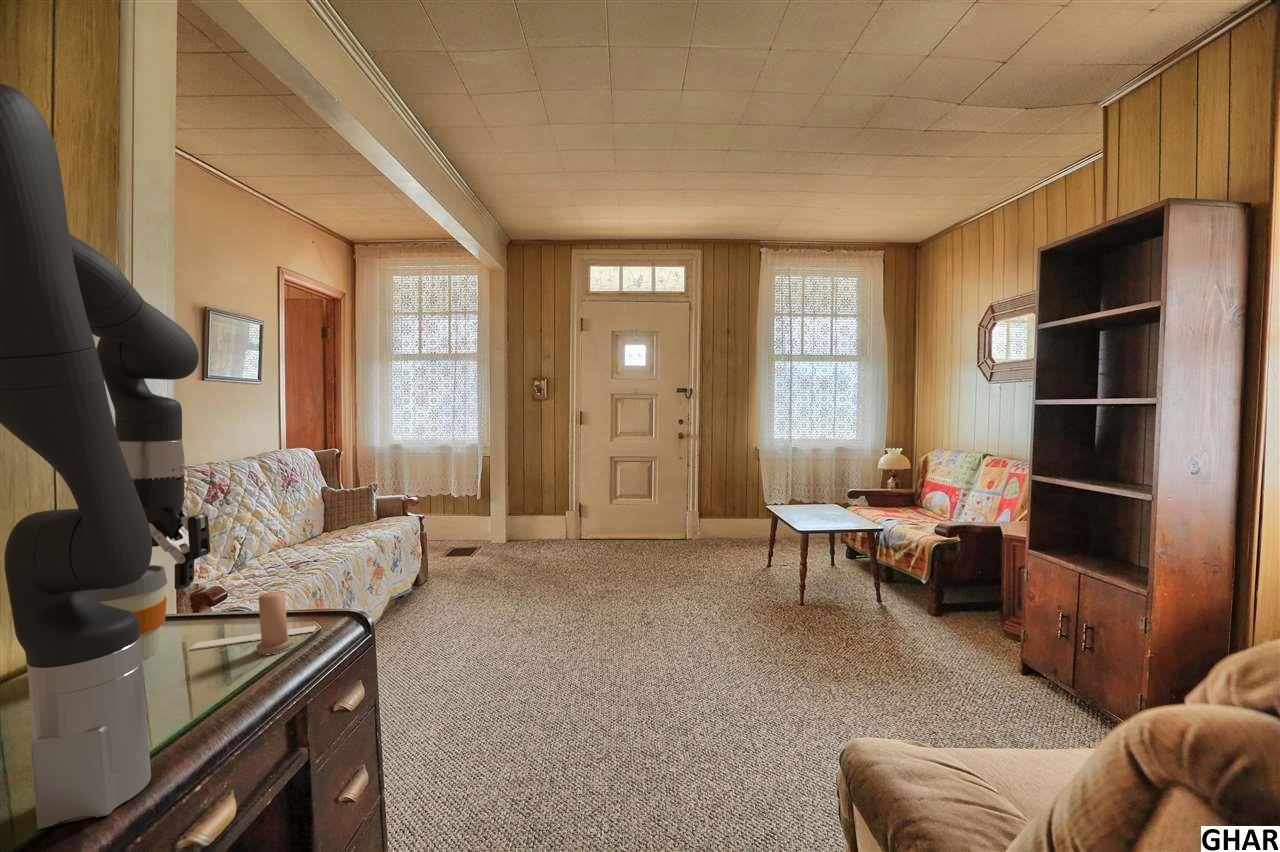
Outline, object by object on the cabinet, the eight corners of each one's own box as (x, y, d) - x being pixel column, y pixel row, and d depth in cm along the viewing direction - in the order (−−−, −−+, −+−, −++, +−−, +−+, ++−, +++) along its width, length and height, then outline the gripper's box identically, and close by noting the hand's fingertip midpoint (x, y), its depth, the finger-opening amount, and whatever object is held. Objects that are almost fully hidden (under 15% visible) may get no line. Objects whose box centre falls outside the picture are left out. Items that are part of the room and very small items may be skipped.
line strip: (313, 632, 110) (312, 631, 110) (190, 650, 104) (190, 648, 104) (316, 627, 113) (316, 625, 113) (197, 644, 107) (196, 642, 107)
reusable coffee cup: (159, 663, 99) (153, 578, 99) (64, 680, 94) (56, 591, 93) (181, 636, 111) (175, 561, 110) (96, 651, 105) (90, 571, 105)
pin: (288, 652, 102) (285, 597, 101) (252, 658, 100) (248, 602, 100) (296, 640, 107) (293, 588, 107) (262, 645, 105) (258, 592, 105)
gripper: (68, 475, 74) (70, 597, 75) (186, 477, 75) (186, 597, 76) (115, 468, 81) (116, 579, 82) (221, 470, 83) (221, 579, 84)
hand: (150, 587), depth 79 cm, fingers open, 8 cm apart
